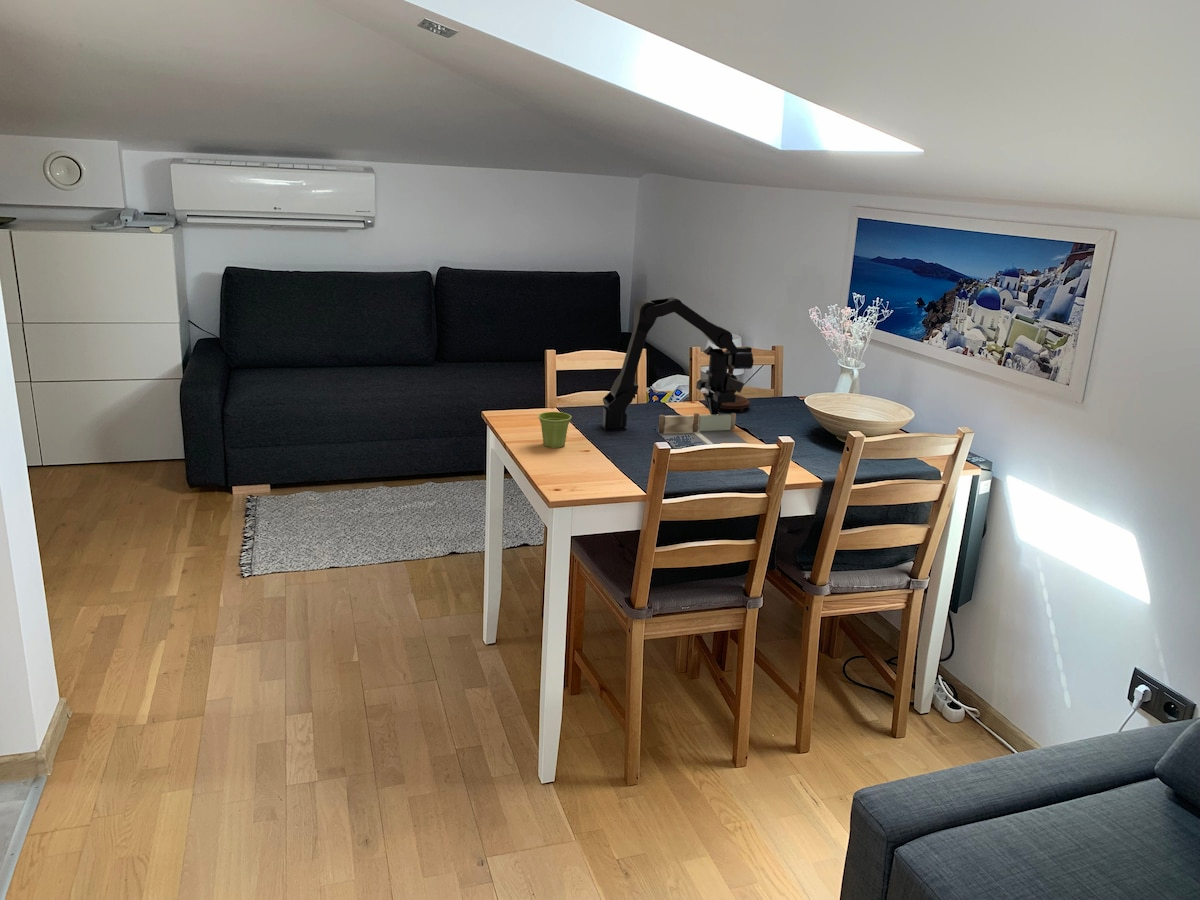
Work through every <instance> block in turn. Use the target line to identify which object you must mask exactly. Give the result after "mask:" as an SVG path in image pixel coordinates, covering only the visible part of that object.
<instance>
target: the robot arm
mask: <svg viewBox="0 0 1200 900" xmlns="http://www.w3.org/2000/svg"><path fill="white" fill-rule="evenodd" d="M672 313H674V314H677V315H678V316H679V317H681V318H682V319H683V320H685V321H686V322H688V324H690V325H692V326H693V327H695V329H697V330H699V331H700V332H701V333H702V334H703V336H704V337H705V338H706V339H707V340H708V341H709V342H710V343H711V344H712V345H714V346H716V347H717V348H713V346H711V345H709V346H708V347H707V348H705V349H704V350H703V353H704V354H705V355H706V356H709V361H708V369H706V370H705V374H706V375H707V379H699V380H697V381H696V389H697V390H699V391H701V390H702V389H705V392H704V393H702V395H703V397H704V400H705V403H706V405H707V407H708V412H709V413H710V414H709V415H718V413H719V411H720V409H721V408H720V406H721V404H722V403H731V402H736V399H737V396H736V395H737V394H736V393H733V392H732V391H730V390H729V389H733V390H736V392H737V393H739V394H740V393H741V392H742V390H743V387H744V385H745V383H744V382H742V381H741V380H739V379H738V378H737V375H735V374H734V373H733V374H731V373H730V374H729V373H728V364H729V366H731V368H732V369H734V370H742V369H743V370H751V369H752V368H753V366H754V355H753V351H752V350H753V349H752V347H750V346H736V344H735V343H734V341H733V339H734V338H733V334H732V332H731V331H729V330H727V329H725V328H724V327H722V326H721V325H717V324H716V323H713V322H711V321H708V319H706V318H705V317H703V316H701V315H700V314H698V313H697V312H696V311H695V310H693V309H692V308H690V307H689V306H688V305H686V304H685V303H683V302H682V300H680V299H679V298H677V297H676V296H670V297H667V298H659V299H653V300H649V299H645V298H643V299H641V300H639V301H637V302H636V303H635V305H634V310H633V329H632V333H631V337H630V339H629V342H628V346H627V350H626V353H625V356H624V360H623V364H622V367H621V370H620V373H619V374H618V375H617V377H616V378H615V380H614V382H613V384H612V385H611V388H610V391H609V392H608V393H607V394H606V395H605V396H604V397H602V402H603V405H604V407H602V409H603V410H602V423H600V426H601V427H602V428H603V429H604V430H605V432H606V431H609V432H610V431H627V420H628V414H627V408H628V406H629V405H631V404H632V402H633V400H635V399H636V394H637V392H638V390H639V385H638V384H637V383H636V382H635V376H636V373H637V370H638V366H639V363H640V360H641V356H642V353H643V350H644V346H645V342H646V339H647V337H648V334H649V331H650V330H651V329H652V327H653V326H654V325H655V323H656V321H657V318H660V317H664V316H667V315H670V314H672ZM724 349H725V351H724ZM726 350H728V351H730V352H727V351H726ZM736 378H737V379H738V380H737V379H736ZM724 390H728V391H724ZM735 394H736V395H735Z"/></svg>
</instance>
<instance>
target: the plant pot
mask: <svg viewBox="0 0 1200 900" xmlns="http://www.w3.org/2000/svg"><path fill="white" fill-rule="evenodd" d="M537 418H538V419H539V422H540V426H541V435H542V442H543V443H542V444H543V446H544V447H545V448H546V447H549V448H551V449H557V448H558V449H559V448H562V447H565V446H566V439H567V433H568V428H569V424H570V422H571V419H572V415H571V414H568V413H567V412H566V413H565V412H561V411H545V412H541V413H539V414H538V415H537Z"/></svg>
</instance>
